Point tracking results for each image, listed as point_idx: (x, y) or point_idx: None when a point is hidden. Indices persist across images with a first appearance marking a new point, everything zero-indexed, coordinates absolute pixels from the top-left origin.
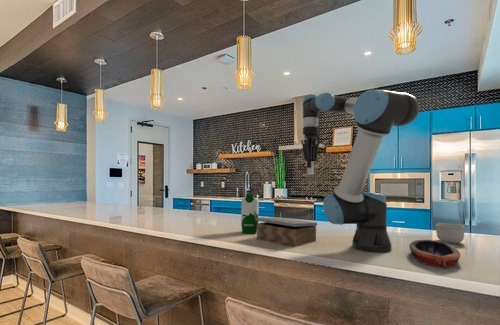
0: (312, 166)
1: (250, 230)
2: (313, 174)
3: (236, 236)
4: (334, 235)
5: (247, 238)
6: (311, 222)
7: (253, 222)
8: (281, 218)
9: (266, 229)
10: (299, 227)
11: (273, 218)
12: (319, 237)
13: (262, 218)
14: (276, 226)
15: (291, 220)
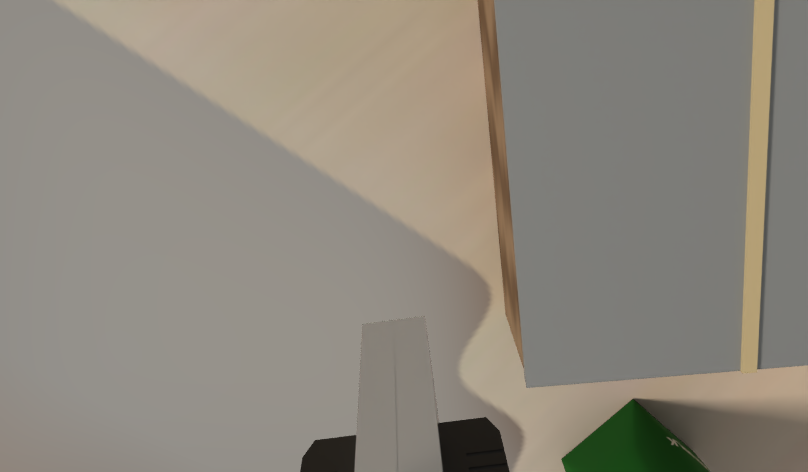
0: (414, 417)
1: (668, 431)
2: (373, 323)
3: (788, 403)
4: (170, 39)
5: None
6: (542, 2)
7: (678, 454)
8: (581, 309)
9: None
10: None
11: (675, 313)
12: (341, 58)
13: (799, 319)
14: None
15: (623, 165)
